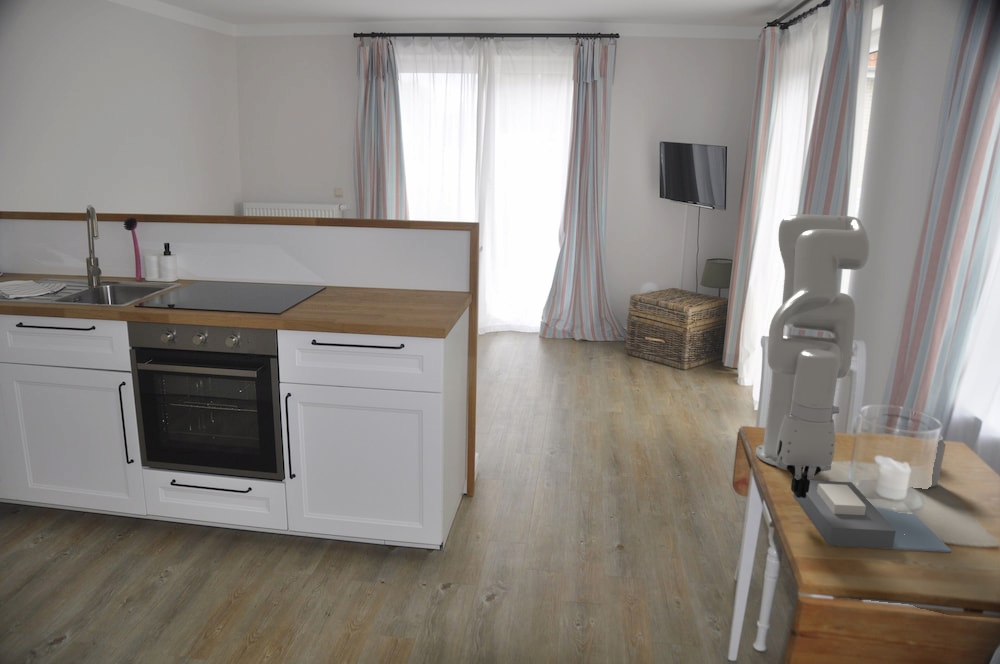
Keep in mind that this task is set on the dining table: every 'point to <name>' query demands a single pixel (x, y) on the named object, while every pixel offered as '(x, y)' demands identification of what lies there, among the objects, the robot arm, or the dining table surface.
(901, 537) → the mat
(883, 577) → the dining table surface
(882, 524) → the panel
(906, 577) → the dining table surface
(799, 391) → the robot arm
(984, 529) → the dining table surface
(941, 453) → the can
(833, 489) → the tile
